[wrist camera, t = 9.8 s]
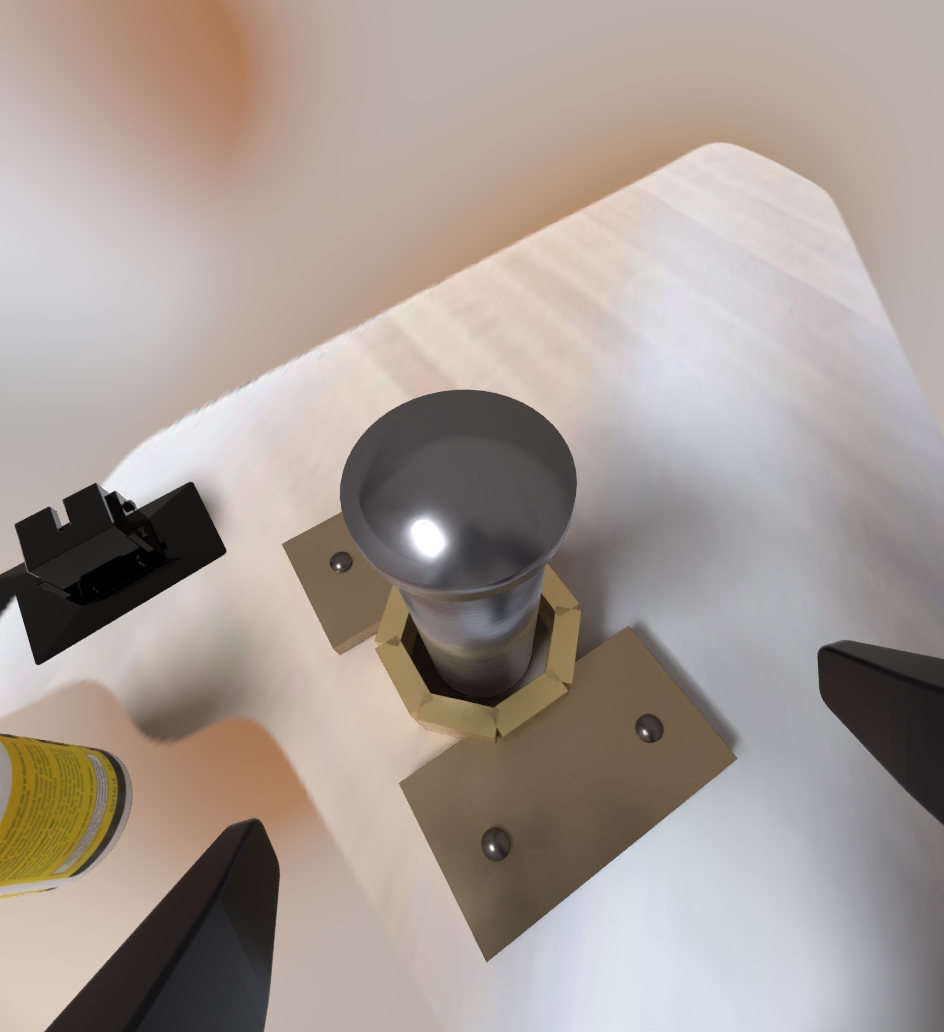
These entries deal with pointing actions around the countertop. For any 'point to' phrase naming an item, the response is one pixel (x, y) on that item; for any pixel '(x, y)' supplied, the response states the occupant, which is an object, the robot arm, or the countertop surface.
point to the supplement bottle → (57, 812)
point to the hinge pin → (463, 525)
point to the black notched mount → (103, 561)
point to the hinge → (524, 746)
